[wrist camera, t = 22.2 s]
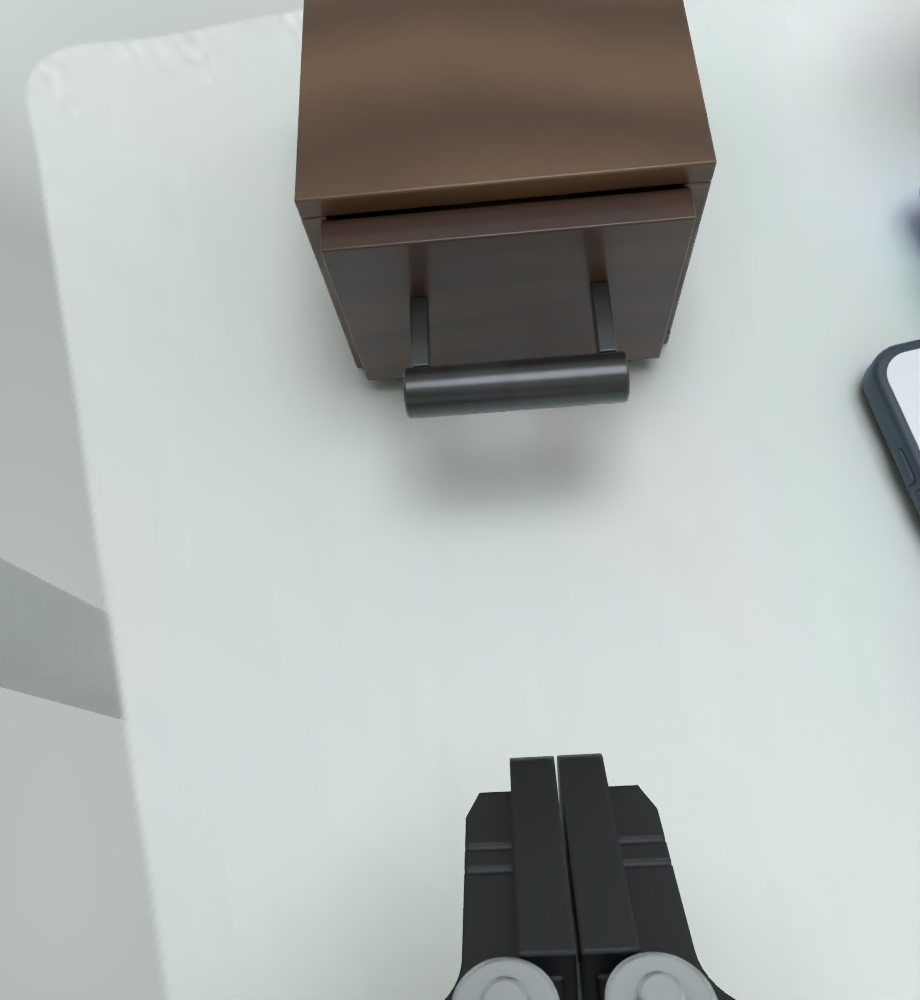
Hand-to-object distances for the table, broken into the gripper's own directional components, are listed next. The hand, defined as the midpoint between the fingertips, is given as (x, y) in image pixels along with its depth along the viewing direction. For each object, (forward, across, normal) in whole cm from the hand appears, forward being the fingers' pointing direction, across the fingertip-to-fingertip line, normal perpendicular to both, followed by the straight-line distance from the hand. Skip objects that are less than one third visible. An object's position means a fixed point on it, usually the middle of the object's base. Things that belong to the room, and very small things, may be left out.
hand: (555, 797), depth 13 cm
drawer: (+24, 0, -5) cm, 25 cm away
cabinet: (+28, 0, -7) cm, 28 cm away
